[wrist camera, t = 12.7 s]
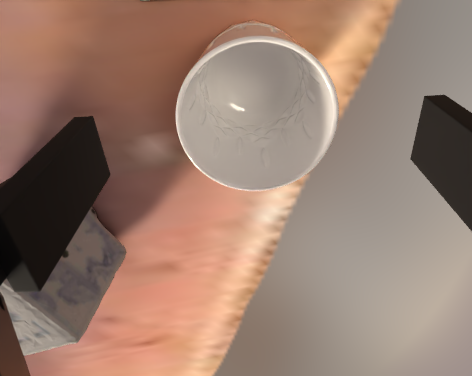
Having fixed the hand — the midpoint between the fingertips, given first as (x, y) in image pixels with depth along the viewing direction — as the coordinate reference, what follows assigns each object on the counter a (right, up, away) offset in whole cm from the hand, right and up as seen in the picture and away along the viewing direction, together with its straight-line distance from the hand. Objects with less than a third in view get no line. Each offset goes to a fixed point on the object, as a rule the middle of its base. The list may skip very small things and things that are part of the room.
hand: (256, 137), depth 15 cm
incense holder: (-17, -5, +19) cm, 26 cm away
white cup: (0, +7, +11) cm, 13 cm away
